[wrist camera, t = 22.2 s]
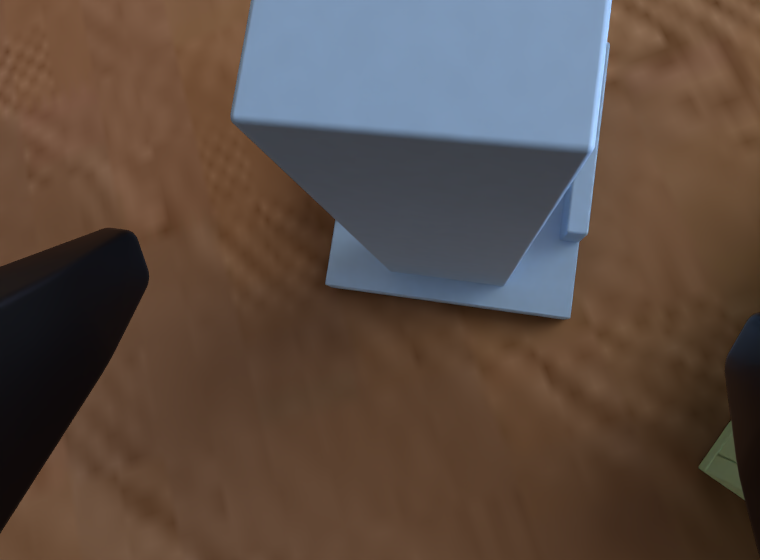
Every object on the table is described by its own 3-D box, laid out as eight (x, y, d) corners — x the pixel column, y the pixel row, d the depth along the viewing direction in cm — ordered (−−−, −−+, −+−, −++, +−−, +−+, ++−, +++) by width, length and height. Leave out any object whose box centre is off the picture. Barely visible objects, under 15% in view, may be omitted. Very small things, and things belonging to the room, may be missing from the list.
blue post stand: (565, 320, 17) (839, 255, 4) (330, 287, 18) (40, 168, 6) (594, 75, 17) (897, -560, 5) (366, 61, 19) (177, -472, 6)
